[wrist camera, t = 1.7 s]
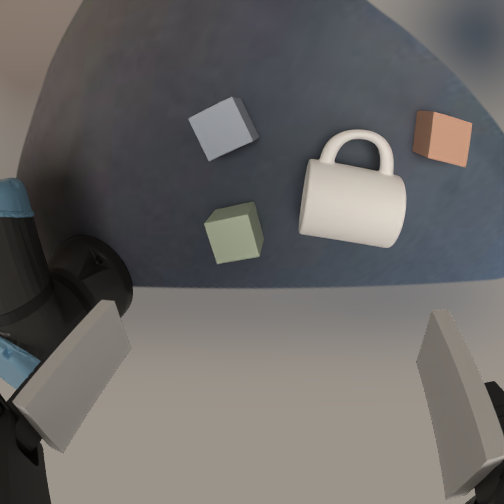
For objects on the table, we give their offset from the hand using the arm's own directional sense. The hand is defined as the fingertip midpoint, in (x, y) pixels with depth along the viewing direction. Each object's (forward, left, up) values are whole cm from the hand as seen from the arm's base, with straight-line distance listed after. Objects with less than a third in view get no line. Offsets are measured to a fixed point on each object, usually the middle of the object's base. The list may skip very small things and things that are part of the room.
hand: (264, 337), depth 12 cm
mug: (+7, +1, -27) cm, 28 cm away
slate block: (-6, +7, -27) cm, 28 cm away
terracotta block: (+18, +6, -27) cm, 33 cm away
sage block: (-6, -5, -27) cm, 28 cm away
